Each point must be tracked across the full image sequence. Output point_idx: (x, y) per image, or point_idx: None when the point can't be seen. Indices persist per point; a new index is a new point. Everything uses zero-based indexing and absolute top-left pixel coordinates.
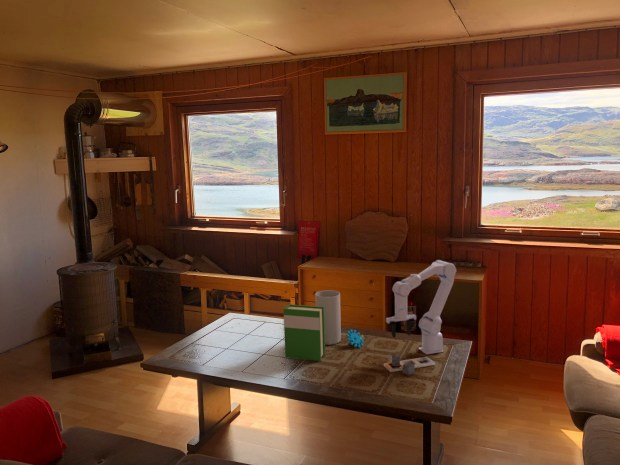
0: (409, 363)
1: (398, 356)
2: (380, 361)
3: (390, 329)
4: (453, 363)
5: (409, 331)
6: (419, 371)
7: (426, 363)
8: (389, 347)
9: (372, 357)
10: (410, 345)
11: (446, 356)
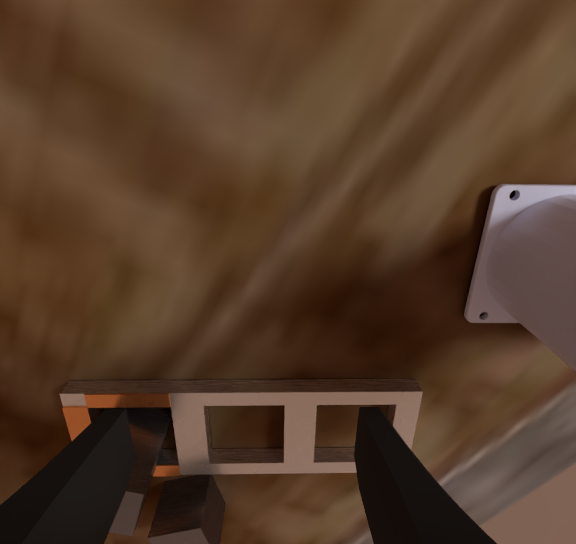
0: (196, 540)
1: (122, 532)
2: (64, 306)
3: (6, 502)
4: (512, 468)
5: (370, 524)
6: (265, 492)
7: (346, 470)
8: (253, 26)
9: (9, 211)
10: (489, 66)
11: (562, 382)
